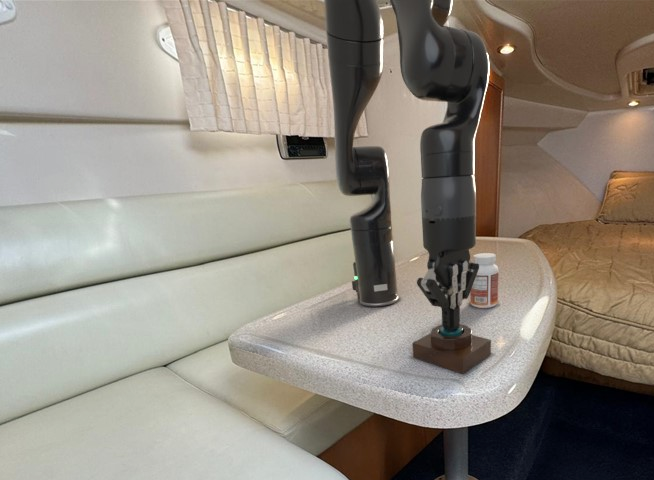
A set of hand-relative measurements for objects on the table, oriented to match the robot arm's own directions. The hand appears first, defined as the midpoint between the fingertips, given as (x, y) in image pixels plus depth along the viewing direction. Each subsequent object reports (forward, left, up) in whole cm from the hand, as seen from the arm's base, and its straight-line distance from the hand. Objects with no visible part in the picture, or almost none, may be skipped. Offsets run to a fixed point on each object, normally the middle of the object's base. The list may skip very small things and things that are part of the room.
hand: (451, 328), depth 58 cm
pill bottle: (-10, +26, -5) cm, 28 cm away
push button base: (0, 0, -5) cm, 5 cm away
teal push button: (0, 0, -2) cm, 2 cm away
